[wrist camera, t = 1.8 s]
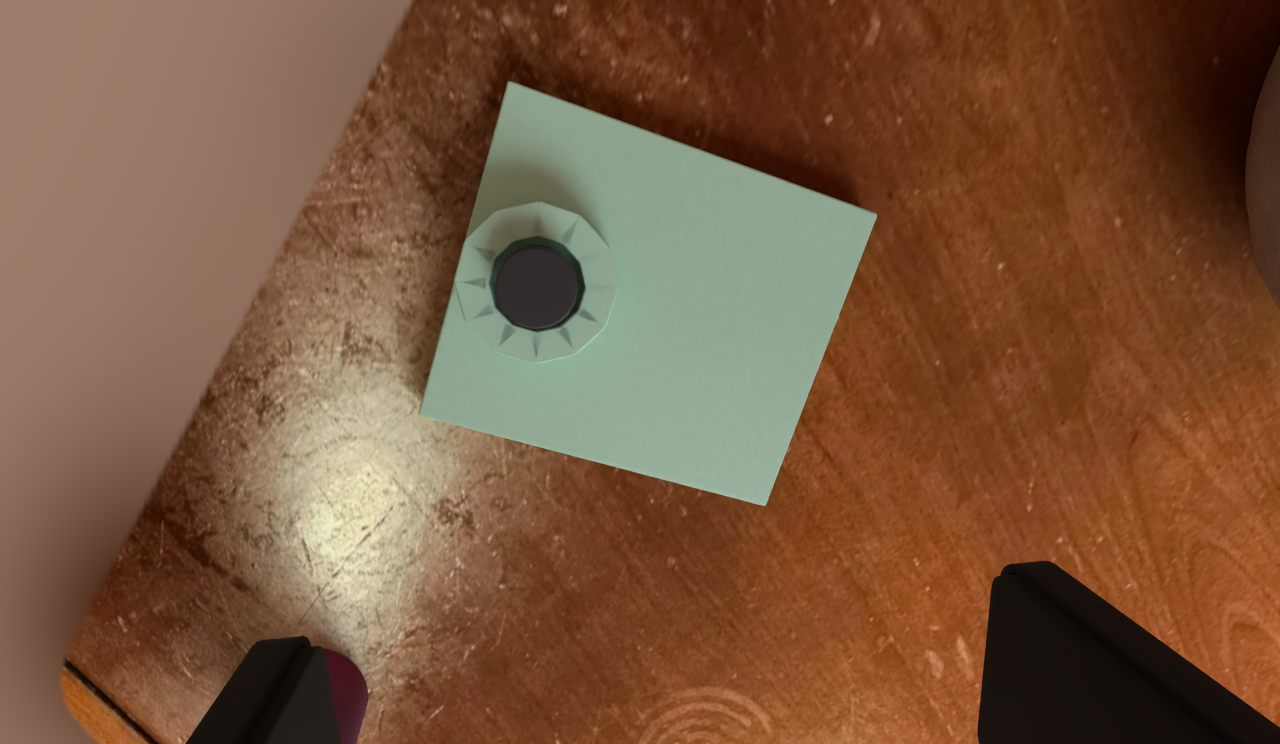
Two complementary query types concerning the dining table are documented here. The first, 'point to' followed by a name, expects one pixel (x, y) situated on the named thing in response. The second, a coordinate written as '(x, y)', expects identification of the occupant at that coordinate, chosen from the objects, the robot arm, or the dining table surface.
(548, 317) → the tare button
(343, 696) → the cup
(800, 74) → the dining table surface
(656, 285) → the scale
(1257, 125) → the bowl
